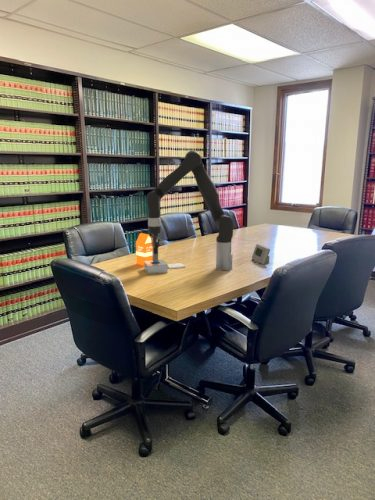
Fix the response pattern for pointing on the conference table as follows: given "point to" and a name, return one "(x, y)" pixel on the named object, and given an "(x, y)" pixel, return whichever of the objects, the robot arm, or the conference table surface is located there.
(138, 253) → the orange juice
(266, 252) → the digital clock
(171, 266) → the pad
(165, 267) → the block
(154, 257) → the key
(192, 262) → the conference table surface
